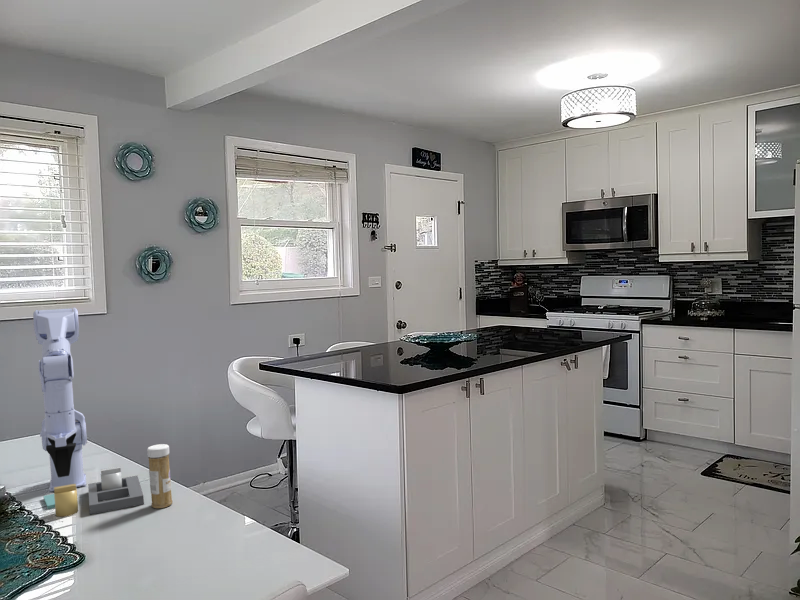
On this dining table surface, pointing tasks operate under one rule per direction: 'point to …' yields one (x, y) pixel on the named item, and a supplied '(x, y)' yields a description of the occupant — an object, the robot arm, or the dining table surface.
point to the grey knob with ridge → (111, 478)
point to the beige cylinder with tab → (66, 500)
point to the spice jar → (159, 475)
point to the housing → (115, 496)
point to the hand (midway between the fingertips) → (63, 471)
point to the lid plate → (49, 501)
